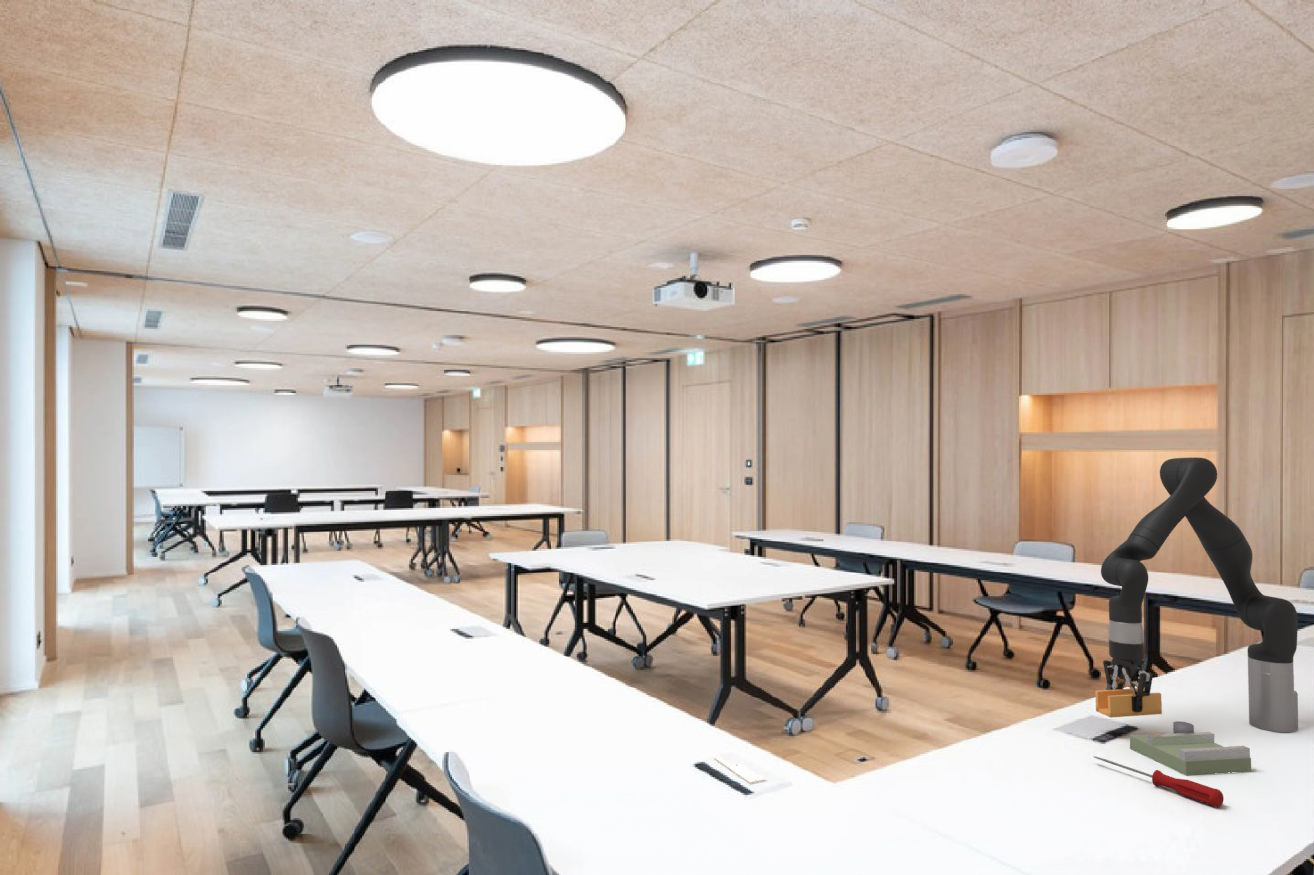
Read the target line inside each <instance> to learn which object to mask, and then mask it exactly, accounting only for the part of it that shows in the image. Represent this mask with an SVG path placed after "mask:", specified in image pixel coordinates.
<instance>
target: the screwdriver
mask: <svg viewBox="0 0 1314 875" xmlns="http://www.w3.org/2000/svg"><path fill="white" fill-rule="evenodd" d="M1093 758H1095V759H1097V760H1100V761H1102V762H1105V763H1108V764H1111V765H1114V766H1116V767H1120V768H1123V769H1125V770H1128V771H1132V772H1134V773H1137V774H1140V775H1143V776H1145V777H1149V778H1151V782H1152V784H1153V786H1154V787H1155V786H1156V787H1165V788H1166V789H1170V790H1172V791H1173V790H1174V791H1175V792H1177V793H1178V794H1180V795H1182V796H1183V797H1186V798H1189V799H1191V800H1194V801H1197V802H1200V803H1203V804H1206V805H1209V806H1211V807H1214V808H1216V807H1217V808H1220V807H1221V806H1222V805H1223V804H1224V794H1223V792H1222V791H1221V790H1220V789H1218V788H1214V787H1211V786H1208V785H1205V784H1201V783H1198V782H1196V781H1192V780H1190V779H1184V778H1176V777H1173V776H1169V775H1167V774H1165V773H1163V772H1162V771H1161V770H1159V769H1156V770H1155V769H1154V771H1153V772H1152V774H1150V773H1147V772H1144V771H1141V770H1138V769H1135V768H1132V767H1130V766H1126V765H1123V764H1120V763H1117V762H1114V761H1111V760H1108V759H1106V758H1102V757H1099V756H1097V755H1096V756H1093Z"/></svg>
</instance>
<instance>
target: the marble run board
mask: <svg viewBox="0 0 1314 875" xmlns="http://www.w3.org/2000/svg"><path fill="white" fill-rule="evenodd" d="M1172 723H1173V725H1172V726H1173V727H1172V730H1173V733H1193V732H1195V726H1194V724H1193V723H1190V722H1186V721H1179V720H1178V721H1173V722H1172ZM1173 733H1172V734H1173ZM1147 735H1148V734H1138V735H1136V734H1133V735H1129V749H1131V750H1133V751H1134V752H1136V751H1137V753H1139V754H1140V755H1142V756H1144V757H1147V758H1149V759H1151V760H1153V761H1155V762H1158V763H1159V764H1162V765H1164V766H1166V767H1168V768H1170V769H1171V770H1174V771H1176V772H1177V773H1180V774H1182V775H1183V776H1186V777H1187V776H1204V775H1205V776H1206V775H1216V774H1215V773H1224V774H1233V773H1232V772H1241V773H1252V757H1250V758H1232V759H1214V760H1196V761H1184V760H1181V759H1179V749H1191V748H1211V747H1224V745H1221V744H1218V743H1216V742H1214V743H1200V744H1181V745H1161V746H1151V745H1149V744H1147ZM1228 772H1230V773H1228Z"/></svg>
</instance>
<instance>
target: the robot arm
mask: <svg viewBox="0 0 1314 875" xmlns="http://www.w3.org/2000/svg"><path fill="white" fill-rule="evenodd" d="M1159 478H1160V481H1161V484H1162V485H1163V487H1164V489H1165V490H1166V491H1167V493H1168V495H1169V497H1168V498H1167V499H1165V500H1164V501H1163V502H1162V503H1161V504H1159V505H1157V506H1156V507H1155V508H1153V509H1152V510H1151V511H1148V513H1147V514H1146V515H1145V516H1143V517H1142V518H1141V519H1140V520H1139V521H1138V522H1137V524H1136V525H1135V526H1134V528H1133V530H1132V531H1131V532H1130V534H1129V536H1128V537H1127V539H1126V540H1125V541H1124V542H1123V543H1121V544H1119V545H1118V547H1116V548H1115V549H1114V550H1112V552H1111V553H1109V555H1107V556H1106V558H1105V559H1104V560H1103V562H1102V564H1101V567H1100V575H1101V578H1102V579H1103V581H1104V582H1105V583H1107V584H1109V585H1113V586H1118V587H1121V589H1120V593H1119V595H1114V596H1111V597H1110V598H1109V600H1108V629H1107V630H1108V655H1109V657H1110V658H1112V659H1106V660H1103V661H1102V665H1103V670H1104V674H1105V680H1106V684H1107V685H1109V686H1111V688H1112V690H1116V689H1125V685H1126V686H1127V687H1128V689H1130V690H1131V694H1132V711H1133V712H1142V709H1143V701H1142V698H1143V696H1149V695H1150V693H1151V690H1152V683H1153V673H1152V672H1146V671H1145V670H1144V669H1143V666H1142V662H1143V661H1144V660H1145V636H1144V634H1145V633H1144V627H1143V626H1144V625H1143V611H1142V610H1143V609H1142V606H1143V602H1144V599H1145V595H1146V591H1147V588H1148V583H1149V573H1148V569H1147V567H1146V566H1145V565H1144V563H1143V562H1142V561H1147V560H1151V559H1153V558H1155V556H1156V555H1157V554H1158V552H1159V551H1160V549H1161V548H1162V546H1163V545H1164V544H1165V542H1166V540H1168V537H1169V536H1170V535H1171V533H1172V532H1173V531H1174V530H1175V528H1176V526H1178V524H1179V523H1180V522H1181V521H1182V520H1183V519H1184V518H1186V519H1187V522H1188V523H1189V525H1190V526H1191V528H1192V530H1193V531H1194V533H1195V534H1196V536H1197V538H1198V540H1199V542H1200V544H1201V546H1202V548H1203V550H1204V551H1205V553H1206V554H1207V556H1208V558H1209V560H1210V561H1211V562H1212V564H1213V565H1214V567H1215V569H1216V571H1217V573H1218V575H1219V577H1220V579H1221V580H1222V582H1223V583H1224V585H1225V587H1226V589H1227V592H1228V594H1229V597H1230V600H1231V601H1232V603H1233V606H1234V609H1235V610H1236V611H1235V612H1237V615H1238V617H1239V618H1240V620H1241V621H1242V623H1243V624H1245V626H1246V627H1248V628H1251V629H1253V630H1256V631H1261V632H1263V637H1262V641H1261V642H1259V643H1252V644H1250V645H1248V647H1247V678H1248V679H1247V683H1248V684H1247V685H1248V686H1247V687H1248V689H1247V690H1248V722H1249V725H1250V726H1253V727H1255V728H1257V729H1262V730H1265V731H1270V732H1276V733H1293V732H1296V730H1298V731H1299V705H1298V704H1299V698H1298V696H1299V694H1298V692H1297V691H1296V690H1295V674H1294V669H1295V668H1294V656H1295V653H1296V652H1297V648H1298V629H1299V628H1298V627H1299V622H1298V621H1299V618H1298V612H1297V609H1296V607H1295V605H1294V603H1292V602H1291V601H1290V600H1288V599H1286V598H1285V599H1284V598H1280V597H1276V596H1270V595H1265V594H1263V593H1262V592H1261V590H1260V589H1259V588H1258V586H1257V585H1256V583H1255V582H1254V579H1253V577H1252V574H1251V570H1252V565H1253V564H1252V563H1253V550H1252V548H1251V545H1250V544H1249V541H1247V538H1246V536H1245V535H1244V534H1243V533H1244V532H1242V530H1241V529H1240V527H1239V526H1238V525H1237V524H1236V523H1235V522H1234V521H1233V520H1232V519H1230V517H1228V516H1227V515H1225V514H1224V513H1223V512H1222V511H1220V510H1219V509H1218V508H1217V507H1215V506H1213V504H1211V503H1210V502H1209V500H1208V499H1207V498H1206V497H1205V496H1206V495H1207V494H1209V492H1210V491H1211V490H1212V489H1213V487H1215V485H1216V482H1217V479H1218V470H1217V468H1216V465H1215V464H1214V463H1213V462H1212V460H1210V459H1207V458H1204V457H1175V458H1170V459H1166V460H1165V461H1164V462H1162V464H1161V466H1160V469H1159ZM1111 675H1112V676H1111ZM1135 688H1137V689H1138V690H1137V691H1136V690H1135ZM1144 688H1145V691H1143V689H1144Z"/></svg>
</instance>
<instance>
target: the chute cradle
mask: <svg viewBox="0 0 1314 875" xmlns="http://www.w3.org/2000/svg"><path fill="white" fill-rule="evenodd" d="M1146 735H1147V744H1149V745H1151V746H1161V745H1181V744H1200V743H1215V733H1214V732H1210V731H1198V732H1197V731H1196V732H1195V731H1194V732H1193V733H1157V734H1155V733H1154V734H1146ZM1250 749H1251V748H1250V747H1247V746H1246V745H1235V746H1231V745H1230V746H1223V747H1211V748H1191V749H1179V759H1181V760H1184V761H1196V760H1214V759H1232V758H1251V750H1250Z"/></svg>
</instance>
